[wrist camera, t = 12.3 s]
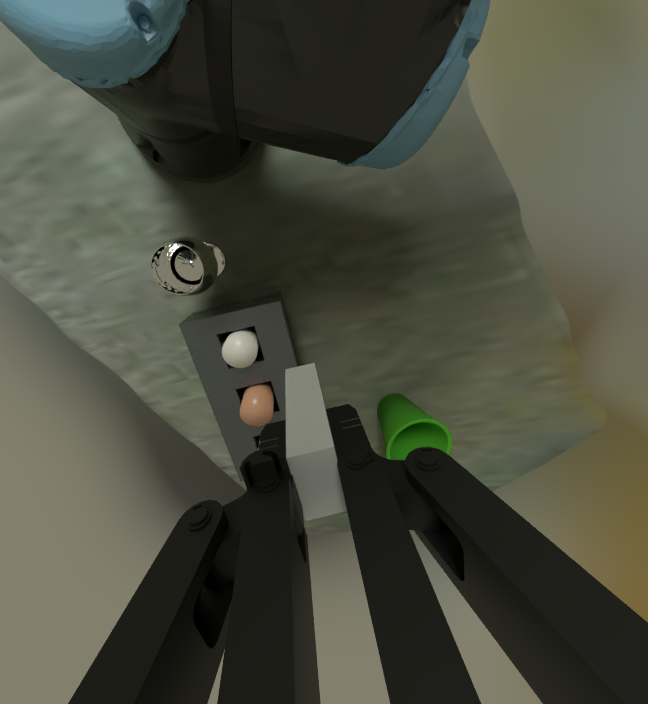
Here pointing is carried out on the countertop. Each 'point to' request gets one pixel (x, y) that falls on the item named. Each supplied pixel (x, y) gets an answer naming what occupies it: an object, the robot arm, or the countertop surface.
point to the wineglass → (186, 265)
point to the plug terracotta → (257, 404)
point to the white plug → (241, 347)
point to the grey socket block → (229, 382)
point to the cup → (409, 428)
